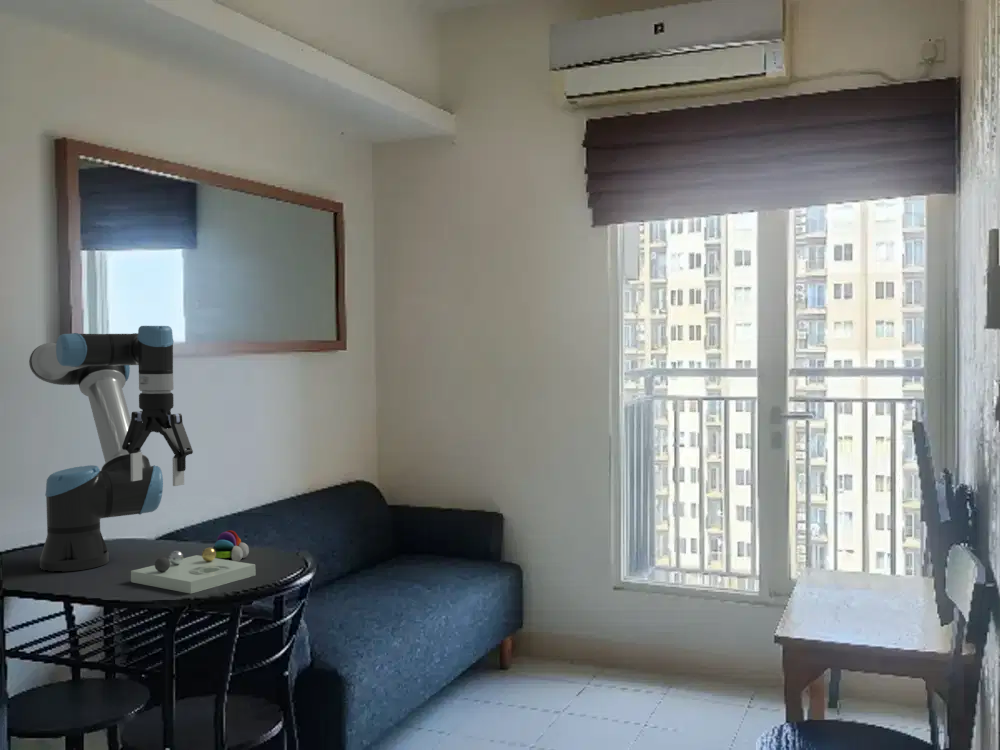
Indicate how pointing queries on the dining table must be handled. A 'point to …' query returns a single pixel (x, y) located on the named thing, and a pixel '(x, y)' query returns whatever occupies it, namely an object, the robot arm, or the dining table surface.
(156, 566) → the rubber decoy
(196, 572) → the pale green flat slab
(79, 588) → the dining table surface
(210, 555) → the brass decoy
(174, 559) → the steel ball
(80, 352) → the robot arm
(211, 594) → the dining table surface
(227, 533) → the rainbow disc rolling toy
